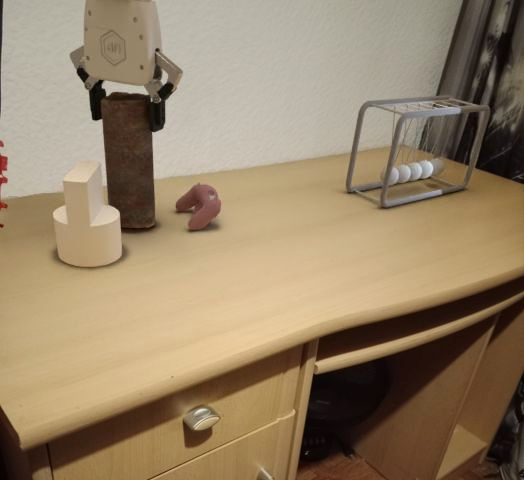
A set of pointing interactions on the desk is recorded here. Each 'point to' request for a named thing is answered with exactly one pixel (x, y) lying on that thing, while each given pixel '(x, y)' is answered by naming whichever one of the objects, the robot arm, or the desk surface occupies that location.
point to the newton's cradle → (424, 167)
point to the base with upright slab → (87, 220)
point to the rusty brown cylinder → (129, 157)
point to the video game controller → (200, 205)
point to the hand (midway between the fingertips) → (128, 124)
